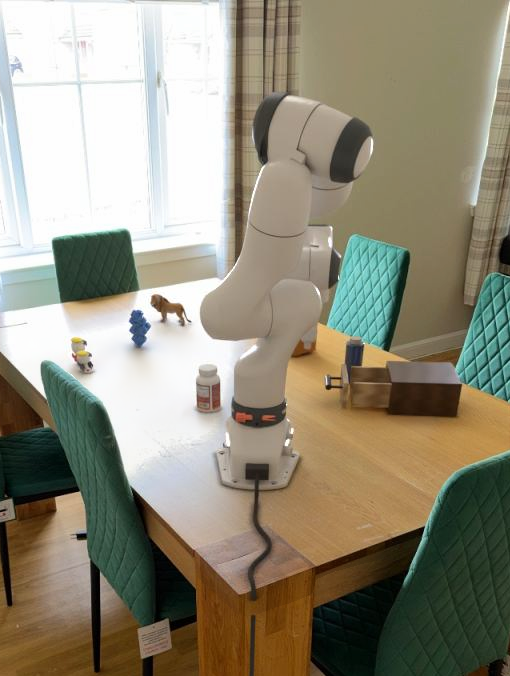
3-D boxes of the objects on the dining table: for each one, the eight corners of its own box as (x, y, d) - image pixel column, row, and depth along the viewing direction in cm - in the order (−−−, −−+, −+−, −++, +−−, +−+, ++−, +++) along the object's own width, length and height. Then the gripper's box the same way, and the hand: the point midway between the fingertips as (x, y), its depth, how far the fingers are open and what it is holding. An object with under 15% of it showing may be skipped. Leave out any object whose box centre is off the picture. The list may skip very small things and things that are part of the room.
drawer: (324, 408, 188) (326, 382, 185) (323, 387, 200) (325, 363, 196) (404, 410, 186) (407, 385, 183) (398, 390, 198) (401, 365, 194)
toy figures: (95, 373, 213) (92, 345, 209) (80, 375, 212) (77, 347, 208) (84, 359, 223) (81, 332, 218) (70, 362, 221) (67, 334, 217)
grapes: (158, 350, 230) (157, 311, 223) (138, 353, 227) (135, 314, 221) (145, 338, 239) (143, 301, 232) (126, 341, 236) (123, 304, 230)
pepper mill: (361, 384, 204) (365, 341, 198) (343, 383, 205) (347, 340, 198) (359, 377, 208) (364, 335, 202) (342, 377, 209) (346, 334, 202)
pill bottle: (217, 402, 195) (216, 361, 189) (223, 411, 190) (223, 370, 184) (194, 404, 193) (193, 364, 188) (199, 414, 188) (199, 372, 183)
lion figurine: (148, 322, 254) (147, 295, 249) (155, 317, 258) (153, 291, 253) (188, 326, 249) (188, 299, 245) (194, 321, 254) (193, 295, 249)
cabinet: (388, 414, 187) (392, 381, 182) (382, 392, 199) (386, 360, 195) (456, 417, 185) (462, 384, 180) (446, 394, 198) (452, 362, 193)
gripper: (325, 306, 171) (320, 362, 179) (323, 281, 188) (319, 334, 196) (297, 305, 172) (294, 361, 179) (298, 280, 189) (295, 333, 196)
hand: (307, 347), depth 188 cm, fingers closed
